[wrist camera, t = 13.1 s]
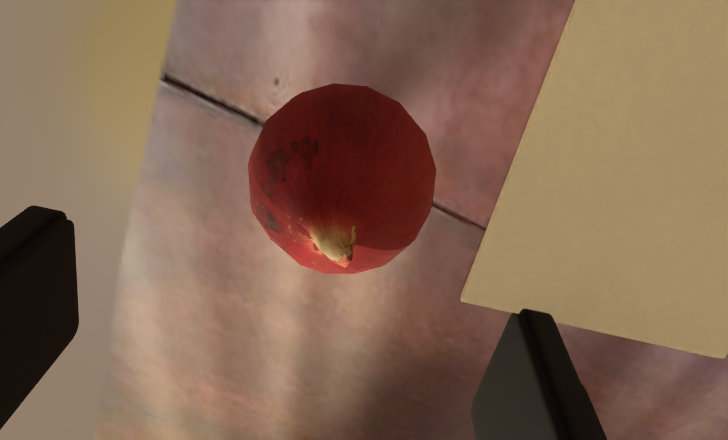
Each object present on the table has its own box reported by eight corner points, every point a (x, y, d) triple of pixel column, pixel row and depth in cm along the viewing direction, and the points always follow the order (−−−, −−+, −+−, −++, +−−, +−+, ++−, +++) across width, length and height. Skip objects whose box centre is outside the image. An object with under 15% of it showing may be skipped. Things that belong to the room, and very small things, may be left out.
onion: (280, 202, 21) (218, 333, 14) (272, 57, 19) (192, 132, 12) (423, 210, 21) (431, 349, 14) (437, 64, 18) (456, 147, 11)
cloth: (460, 296, 23) (460, 301, 23) (596, -56, 16) (600, -56, 16) (719, 353, 24) (723, 359, 23) (955, 35, 17) (967, 37, 16)
